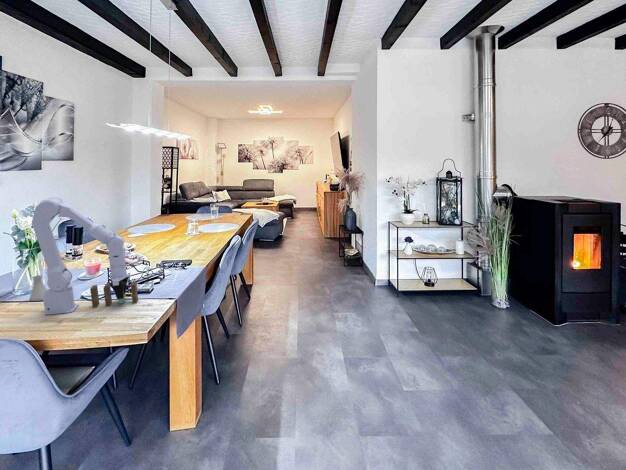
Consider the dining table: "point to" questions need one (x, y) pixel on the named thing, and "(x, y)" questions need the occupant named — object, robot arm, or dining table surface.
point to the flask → (37, 289)
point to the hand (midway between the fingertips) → (121, 296)
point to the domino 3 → (122, 299)
